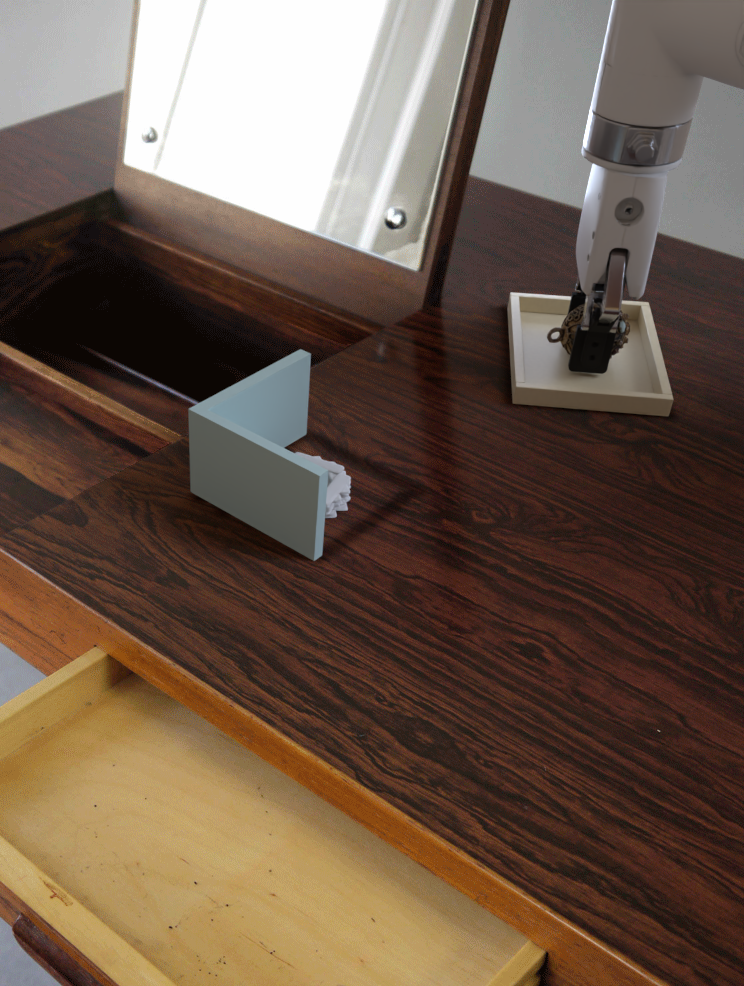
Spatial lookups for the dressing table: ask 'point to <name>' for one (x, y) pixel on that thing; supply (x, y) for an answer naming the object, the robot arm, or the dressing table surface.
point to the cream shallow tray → (549, 382)
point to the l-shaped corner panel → (266, 457)
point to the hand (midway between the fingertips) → (584, 351)
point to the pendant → (575, 319)
